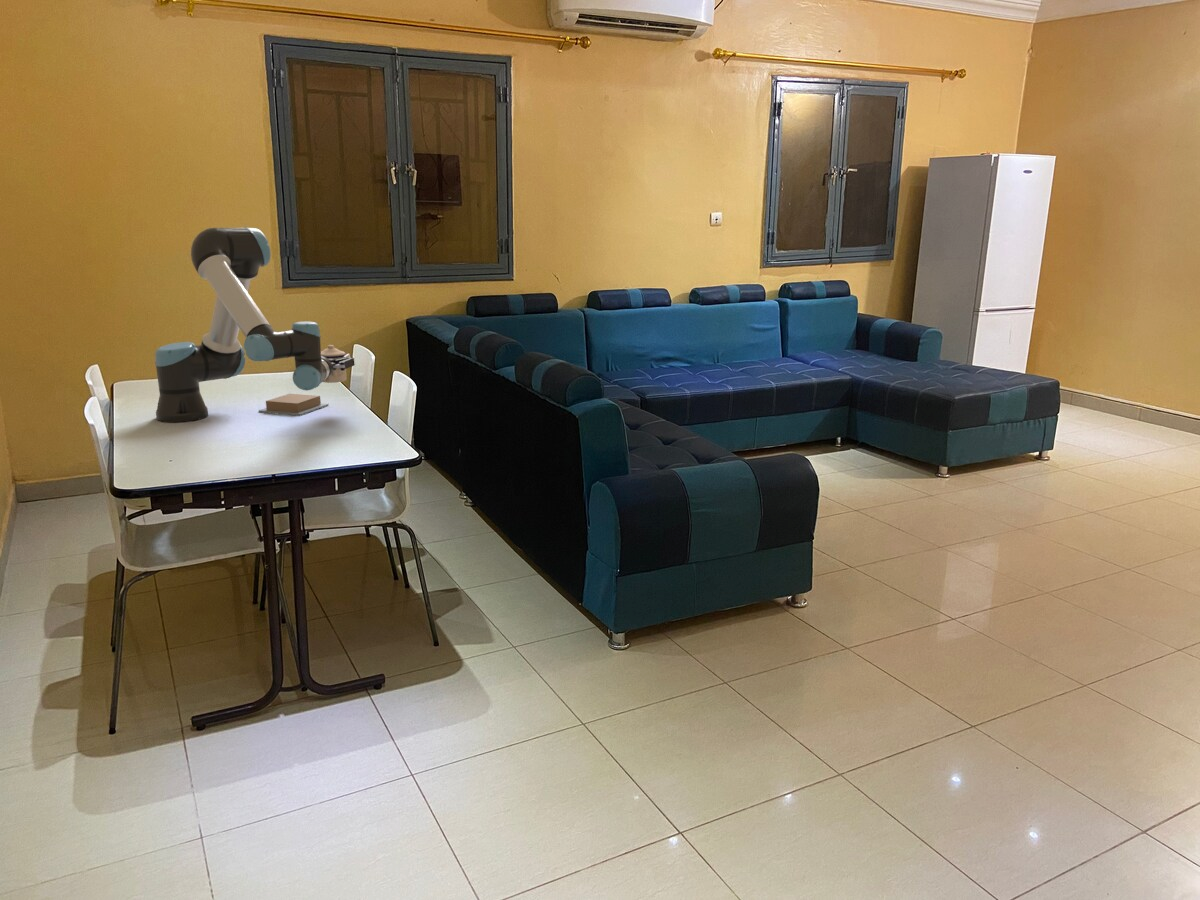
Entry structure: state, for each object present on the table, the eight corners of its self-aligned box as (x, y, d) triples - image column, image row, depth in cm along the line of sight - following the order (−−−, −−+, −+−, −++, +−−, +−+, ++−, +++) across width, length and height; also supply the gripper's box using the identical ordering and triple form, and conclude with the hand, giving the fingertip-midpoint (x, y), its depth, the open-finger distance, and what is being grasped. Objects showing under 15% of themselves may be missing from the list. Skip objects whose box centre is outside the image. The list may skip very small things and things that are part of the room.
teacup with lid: (316, 378, 290) (314, 343, 287) (345, 377, 294) (343, 342, 291) (321, 385, 280) (319, 349, 277) (350, 383, 283) (348, 347, 280)
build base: (258, 412, 289) (257, 401, 288) (288, 402, 304) (287, 392, 303) (300, 415, 285) (299, 404, 284) (328, 405, 300) (327, 395, 299)
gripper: (282, 381, 268) (301, 368, 290) (354, 381, 269) (367, 369, 291) (280, 357, 266) (299, 346, 288) (352, 357, 267) (366, 346, 289)
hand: (333, 357), depth 289 cm, fingers closed on teacup with lid, 9 cm apart
